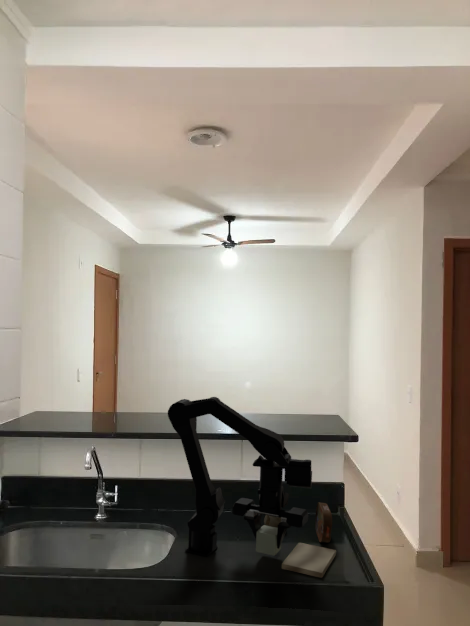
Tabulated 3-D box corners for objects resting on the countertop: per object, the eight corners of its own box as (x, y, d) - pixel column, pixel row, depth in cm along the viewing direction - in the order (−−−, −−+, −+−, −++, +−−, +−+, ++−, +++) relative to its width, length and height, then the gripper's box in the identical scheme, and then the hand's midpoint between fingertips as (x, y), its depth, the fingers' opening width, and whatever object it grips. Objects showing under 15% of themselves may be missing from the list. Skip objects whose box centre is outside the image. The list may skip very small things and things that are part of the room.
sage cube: (255, 551, 135) (256, 531, 135) (263, 544, 139) (263, 525, 139) (274, 555, 133) (275, 535, 133) (281, 548, 137) (281, 528, 137)
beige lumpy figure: (284, 531, 149) (268, 496, 152) (265, 539, 151) (250, 505, 154) (294, 523, 157) (279, 490, 160) (276, 531, 159) (261, 498, 162)
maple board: (281, 568, 130) (281, 563, 130) (298, 546, 143) (298, 542, 143) (321, 577, 126) (322, 572, 126) (335, 554, 139) (336, 550, 139)
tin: (314, 526, 158) (315, 497, 158) (325, 526, 158) (326, 498, 158) (320, 547, 143) (321, 516, 143) (332, 548, 143) (333, 516, 143)
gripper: (315, 481, 140) (313, 541, 140) (249, 470, 147) (247, 527, 147) (302, 493, 130) (300, 558, 129) (232, 481, 137) (230, 542, 137)
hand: (268, 545), depth 136 cm, fingers closed on sage cube, 5 cm apart
